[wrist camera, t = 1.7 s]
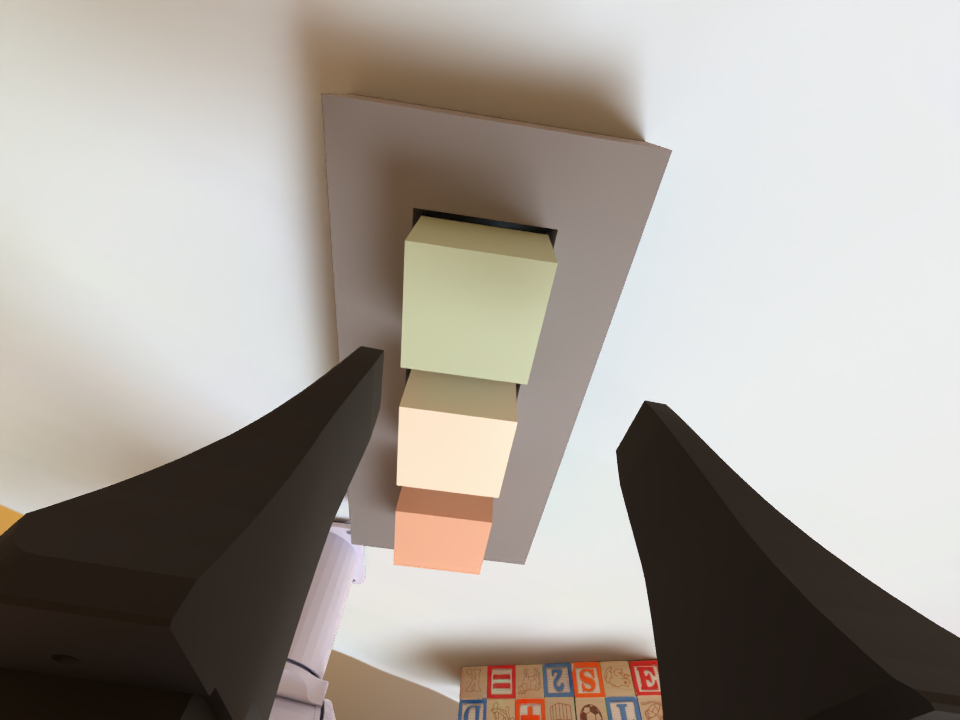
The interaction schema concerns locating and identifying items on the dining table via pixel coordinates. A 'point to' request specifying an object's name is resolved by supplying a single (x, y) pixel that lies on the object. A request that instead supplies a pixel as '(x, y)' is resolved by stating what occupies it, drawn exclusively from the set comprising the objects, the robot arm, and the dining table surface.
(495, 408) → the cream key
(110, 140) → the dining table surface
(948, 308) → the dining table surface
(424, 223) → the green key
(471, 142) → the board
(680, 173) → the dining table surface
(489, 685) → the stack of blocks
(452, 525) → the terracotta key
